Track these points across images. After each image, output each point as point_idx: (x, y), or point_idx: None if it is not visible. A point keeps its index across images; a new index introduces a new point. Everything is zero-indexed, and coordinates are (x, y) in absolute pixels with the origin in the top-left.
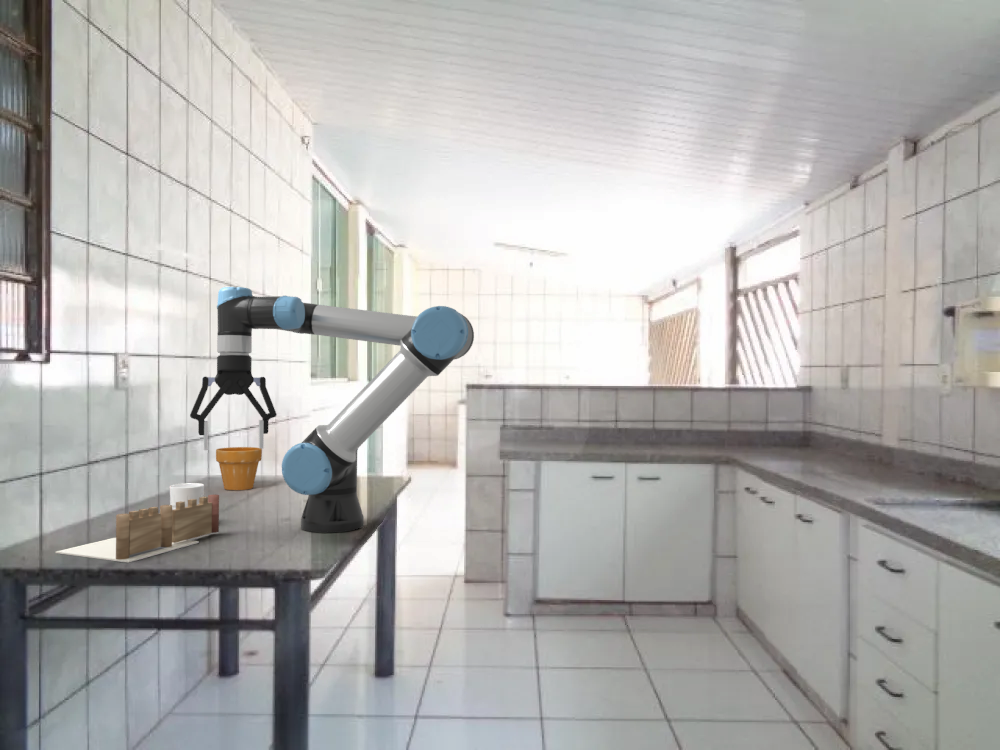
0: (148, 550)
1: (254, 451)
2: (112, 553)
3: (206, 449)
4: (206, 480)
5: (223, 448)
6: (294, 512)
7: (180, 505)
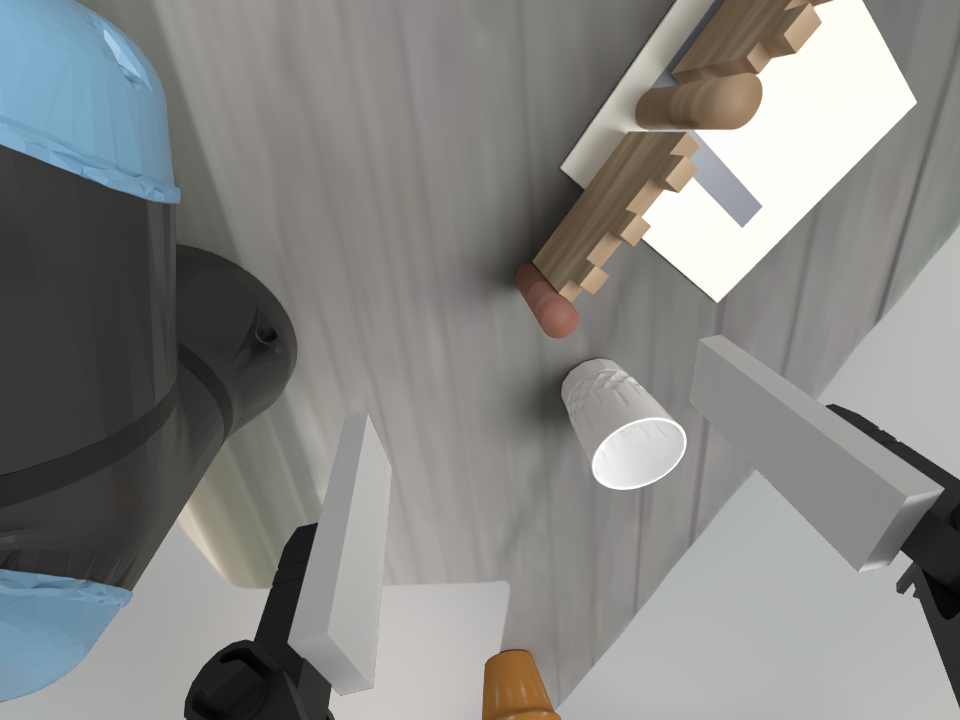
0: None
1: None
2: None
3: (709, 338)
4: (562, 696)
5: None
6: None
7: (676, 156)
